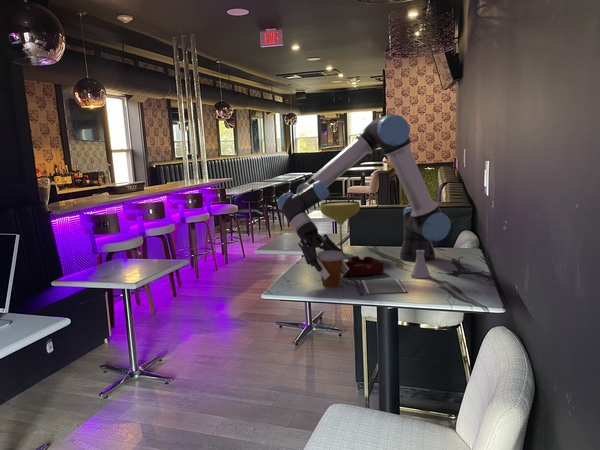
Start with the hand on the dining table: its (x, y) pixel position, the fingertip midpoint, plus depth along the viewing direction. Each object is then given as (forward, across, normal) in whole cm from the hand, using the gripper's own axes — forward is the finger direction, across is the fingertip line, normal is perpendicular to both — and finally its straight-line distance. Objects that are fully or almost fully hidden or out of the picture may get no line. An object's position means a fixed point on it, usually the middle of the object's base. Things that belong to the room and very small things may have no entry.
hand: (337, 274), depth 165 cm
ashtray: (0, -21, -7) cm, 22 cm away
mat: (+12, -9, +6) cm, 17 cm away
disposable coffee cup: (+1, 0, -6) cm, 6 cm away
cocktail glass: (-19, -38, -25) cm, 50 cm away
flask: (+15, -29, +8) cm, 33 cm away
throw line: (+8, -3, +2) cm, 9 cm away
